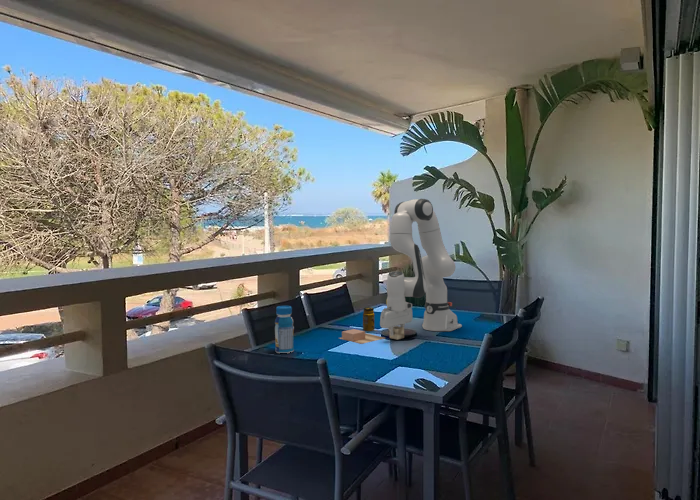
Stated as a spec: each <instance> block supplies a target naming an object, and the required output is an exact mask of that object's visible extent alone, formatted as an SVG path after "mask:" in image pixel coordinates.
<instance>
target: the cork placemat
mask: <svg viewBox="0 0 700 500" xmlns="http://www.w3.org/2000/svg"><path fill="white" fill-rule="evenodd" d="M339 339H340V340H343V341H348V342H352V343H355V344H359V345H363V344H366V343H367V344H368V343H370V342H372V343H373V342H375V341H380V340H383V339H386V337H384V336H379V335H376V334H371V333H367V332H365V339H362V340H358V341H349V340H345V339H342V337H339Z"/></svg>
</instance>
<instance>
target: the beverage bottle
mask: <svg viewBox="0 0 700 500" xmlns="http://www.w3.org/2000/svg"><path fill="white" fill-rule="evenodd" d="M275 309H276V312H275V313H276V318H275V320H274V324H275V326H274V335H275V336H274V337H275V338H274V339H275V340H274V341H275V342H274V343H275V349H274V350H275V352H276V353H277V354H280V353H287V354H291V353H293V352H294V351H295V347H294V346H295V345H294V343H295V342H294V340H295V339H294V332H295V331H294V330H295V326H294V319H293V317H292V313H293V307H292V306H291V305H278V306H276V308H275ZM290 352H291V353H290Z"/></svg>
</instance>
